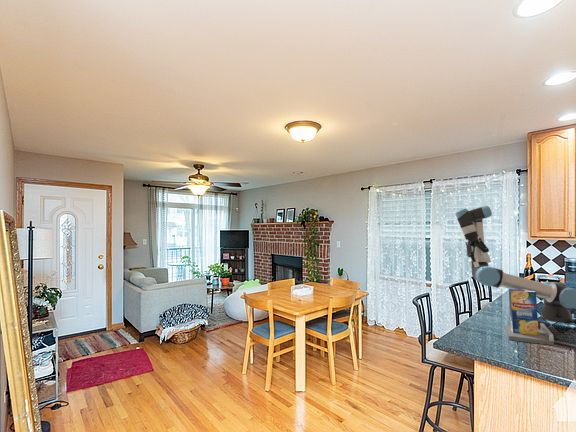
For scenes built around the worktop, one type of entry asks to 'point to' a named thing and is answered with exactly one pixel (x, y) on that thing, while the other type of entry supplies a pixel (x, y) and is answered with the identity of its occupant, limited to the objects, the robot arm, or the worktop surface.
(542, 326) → the price rail
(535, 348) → the worktop surface
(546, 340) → the shelf board
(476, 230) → the robot arm
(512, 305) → the beverage box
